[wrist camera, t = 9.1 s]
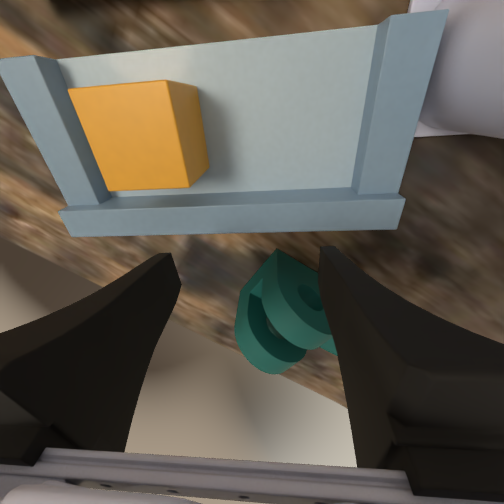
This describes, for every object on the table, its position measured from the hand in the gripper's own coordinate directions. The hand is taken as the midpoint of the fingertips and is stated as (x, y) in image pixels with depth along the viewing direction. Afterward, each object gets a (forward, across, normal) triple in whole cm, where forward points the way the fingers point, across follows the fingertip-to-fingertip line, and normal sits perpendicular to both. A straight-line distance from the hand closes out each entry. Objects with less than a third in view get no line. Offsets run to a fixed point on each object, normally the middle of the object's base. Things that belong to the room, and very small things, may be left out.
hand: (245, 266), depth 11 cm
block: (+7, +5, -6) cm, 10 cm away
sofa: (+10, +2, -4) cm, 11 cm away
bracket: (+10, -6, +13) cm, 18 cm away
